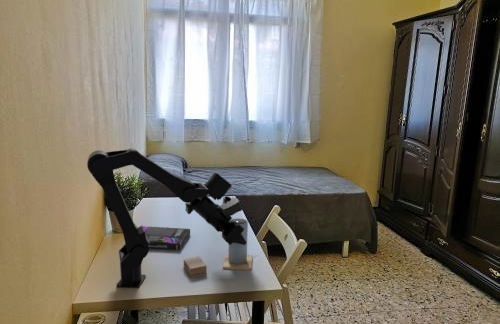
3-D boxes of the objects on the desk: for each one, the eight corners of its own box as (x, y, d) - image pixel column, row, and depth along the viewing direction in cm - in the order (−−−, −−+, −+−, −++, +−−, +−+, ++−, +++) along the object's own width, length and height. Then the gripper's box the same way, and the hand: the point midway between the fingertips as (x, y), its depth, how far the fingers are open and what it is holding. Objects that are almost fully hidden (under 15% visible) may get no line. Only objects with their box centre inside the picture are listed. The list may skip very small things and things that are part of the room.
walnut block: (206, 274, 109) (206, 265, 108) (190, 278, 107) (190, 268, 106) (198, 264, 115) (198, 256, 115) (183, 268, 113) (183, 259, 112)
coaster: (251, 269, 112) (251, 267, 112) (222, 268, 112) (222, 267, 112) (252, 256, 121) (252, 255, 121) (225, 256, 121) (225, 254, 121)
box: (126, 250, 127) (180, 252, 125) (126, 240, 126) (180, 242, 124) (142, 234, 140) (191, 236, 138) (141, 226, 140) (190, 227, 138)
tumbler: (243, 265, 112) (244, 225, 110) (225, 262, 114) (226, 223, 112) (249, 257, 118) (250, 219, 116) (232, 254, 120) (232, 217, 117)
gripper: (237, 199, 102) (271, 231, 108) (217, 184, 119) (247, 212, 125) (211, 228, 100) (246, 259, 107) (194, 209, 117) (225, 236, 123)
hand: (241, 239), depth 115 cm, fingers closed on tumbler, 6 cm apart
